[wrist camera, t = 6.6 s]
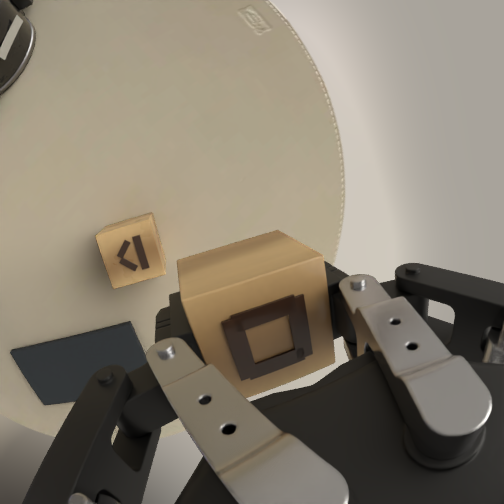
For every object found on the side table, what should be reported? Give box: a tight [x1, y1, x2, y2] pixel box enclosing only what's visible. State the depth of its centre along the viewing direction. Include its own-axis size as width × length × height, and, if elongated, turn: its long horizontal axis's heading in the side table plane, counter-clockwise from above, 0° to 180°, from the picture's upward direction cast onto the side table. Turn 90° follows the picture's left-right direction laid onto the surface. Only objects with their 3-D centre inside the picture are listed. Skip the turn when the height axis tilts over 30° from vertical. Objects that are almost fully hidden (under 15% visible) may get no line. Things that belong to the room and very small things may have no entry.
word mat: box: [10, 321, 148, 405], centre depth 25 cm, size 8×16×1 cm, turn 102°
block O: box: [177, 230, 335, 398], centre depth 11 cm, size 4×4×4 cm
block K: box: [95, 212, 166, 289], centre depth 22 cm, size 4×4×4 cm
